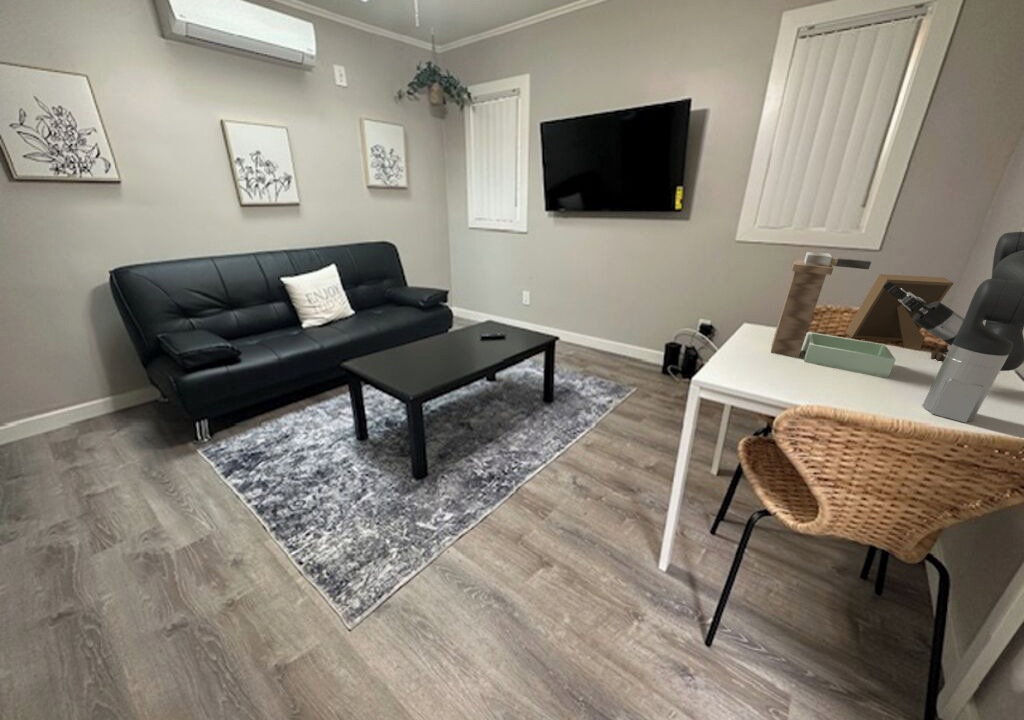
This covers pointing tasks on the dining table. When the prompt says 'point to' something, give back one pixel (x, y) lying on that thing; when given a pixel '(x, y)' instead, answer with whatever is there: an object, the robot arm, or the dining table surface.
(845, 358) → the tray
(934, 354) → the bear figurine
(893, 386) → the dining table surface
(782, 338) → the scratching post
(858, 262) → the scraper
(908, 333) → the photo frame
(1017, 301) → the robot arm
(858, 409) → the dining table surface
